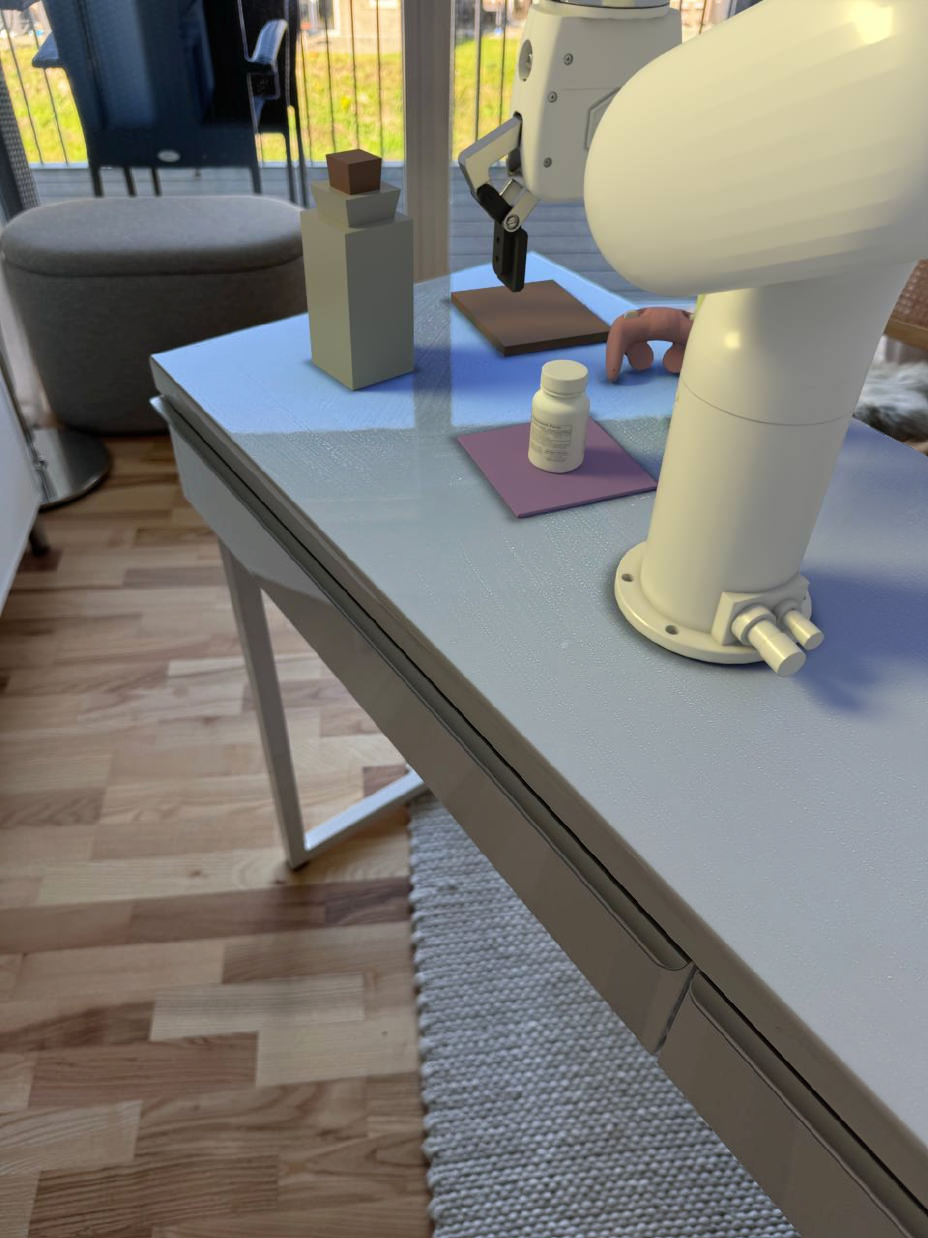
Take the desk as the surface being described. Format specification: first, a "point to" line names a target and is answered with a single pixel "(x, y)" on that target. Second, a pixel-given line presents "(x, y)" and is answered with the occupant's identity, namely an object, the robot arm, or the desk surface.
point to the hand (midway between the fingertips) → (572, 276)
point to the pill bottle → (559, 417)
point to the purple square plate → (545, 491)
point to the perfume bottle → (359, 273)
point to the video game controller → (647, 338)
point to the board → (530, 317)
